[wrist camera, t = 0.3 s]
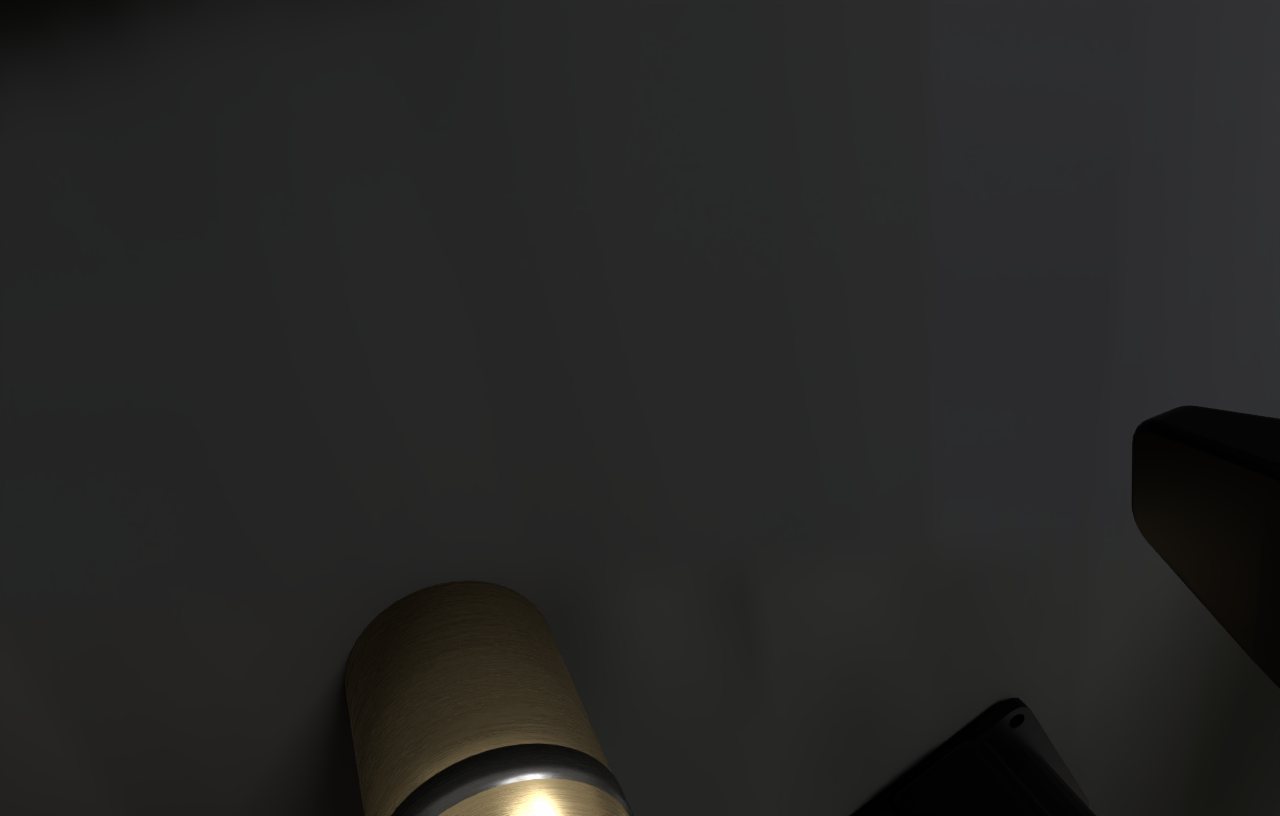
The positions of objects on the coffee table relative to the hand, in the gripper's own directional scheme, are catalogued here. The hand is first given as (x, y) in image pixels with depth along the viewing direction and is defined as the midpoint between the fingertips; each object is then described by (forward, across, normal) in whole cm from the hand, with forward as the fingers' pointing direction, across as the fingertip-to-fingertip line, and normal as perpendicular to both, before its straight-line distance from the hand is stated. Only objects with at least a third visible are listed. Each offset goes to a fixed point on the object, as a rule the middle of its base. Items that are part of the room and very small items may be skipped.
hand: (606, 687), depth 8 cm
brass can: (+14, +2, +10) cm, 17 cm away
